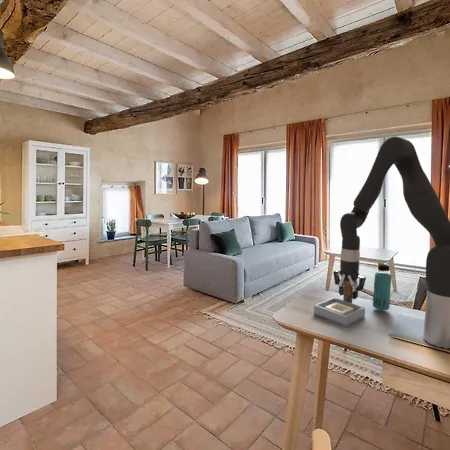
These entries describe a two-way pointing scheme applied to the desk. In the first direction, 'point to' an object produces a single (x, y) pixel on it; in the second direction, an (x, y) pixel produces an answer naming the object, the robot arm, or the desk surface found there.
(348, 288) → the peg
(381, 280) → the beverage bottle
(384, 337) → the desk surface
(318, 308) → the box
